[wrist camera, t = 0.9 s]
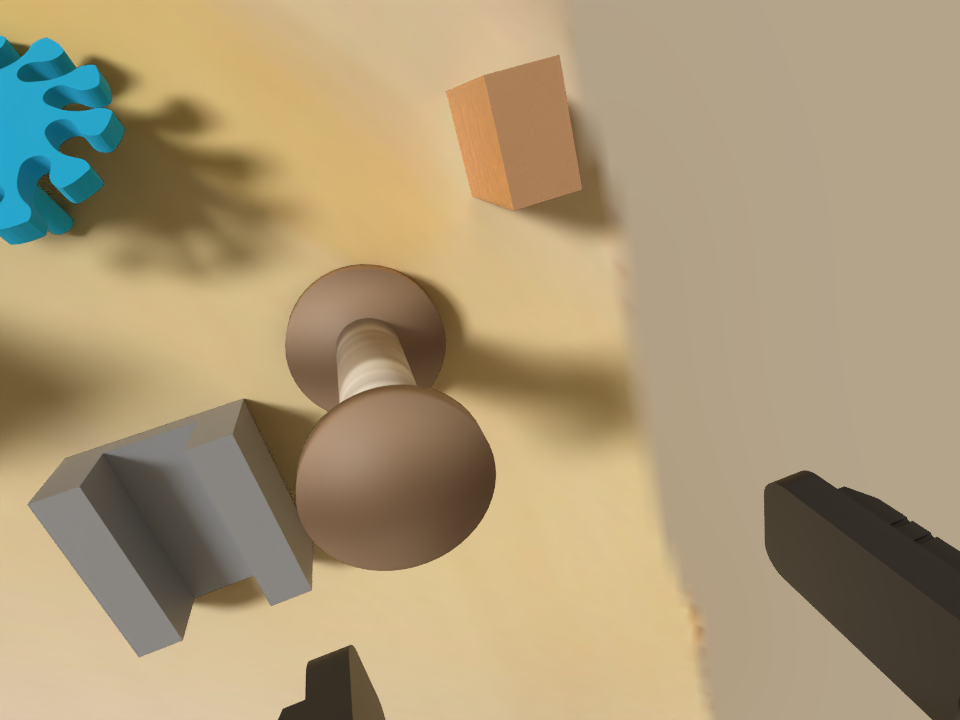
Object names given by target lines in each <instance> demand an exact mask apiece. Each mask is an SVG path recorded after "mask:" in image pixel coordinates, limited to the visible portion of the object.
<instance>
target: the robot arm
mask: <svg viewBox="0 0 960 720" xmlns="http://www.w3.org/2000/svg"><path fill="white" fill-rule="evenodd" d="M764 509H765V510H764V513H765V514H764V515H765V547H766V551H767V554H768V556H769V558H770V560H771V562H772V564H773V566H774V567H775V569H776V570H777V571H778V573H779V574H780V575H781V576H782V577H783V578H784V579H785V580H786V581H787V582H788V583H789V584H790V585H791V586H792V587H793V588H794V589H795V590H796V591H798V592H799V593H800V594H801V595H802V596H803V597H804V598H805V599H806V600H807V601H808V602H809V603H810V604H811V605H812V606H813V607H814V608H815V609H817V610H818V611H819V612H820V613H821V614H822V615H823V616H824V617H825V618H826V619H827V620H828V621H829V622H830V623H831V624H832V625H833V626H834V627H835V628H837V629H838V630H839V631H840V632H841V633H842V634H843V635H844V636H845V637H846V638H847V639H848V640H849V641H850V642H851V643H852V644H853V645H854V646H855V647H856V648H858V649H859V650H860V651H861V652H862V653H863V654H864V655H865V656H866V657H867V658H868V659H869V660H870V661H871V662H872V663H873V664H874V665H875V666H876V667H877V668H879V669H880V670H881V671H882V672H883V673H884V674H885V675H886V676H887V677H888V678H889V679H890V680H891V681H892V682H893V683H894V684H895V685H896V686H897V687H899V688H900V689H901V690H902V691H903V692H904V693H905V694H906V695H907V696H908V697H909V698H910V699H911V700H912V701H913V702H914V703H916V705H918V706H919V707H920V708H921V709H922V710H923V711H924V712H925V713H926V714H927V715H928V716H929V717H930V718H931V719H932V720H960V551H958V550H957V549H955V548H954V547H952V546H951V545H949V544H947V543H946V542H944V541H943V540H941V539H940V538H938V537H936V538H934V537H933V536H932V535H931V533H930V532H929V531H927V530H926V529H924V528H923V527H921V526H920V525H918V524H917V523H915V522H913V521H911V522H910V521H908V519H907V517H906V516H904V515H903V514H901V513H900V512H898V511H896V510H895V509H893V508H892V507H890V506H889V505H887V504H885V503H884V502H882V501H881V500H879V499H877V498H875V497H872V496H869V495H867V494H864V493H861V492H858V491H855V490H853V489H850V488H847V487H842V488H839V489H837V488H835V487H834V486H832V485H831V484H829V483H828V482H826V481H825V480H823V479H822V478H821V477H819V476H818V475H816V474H814V473H812V472H809V471H800V472H798V473H796V474H793V475H790V476H788V477H785V478H783V479H780V480H777V481H775V482H772V483H770V484H768V485H767V486H766V487H765V490H764ZM278 720H385V717H384V713H383V710H382V707H381V704H380V701H379V699H378V696H377V694H376V692H375V690H374V688H373V686H372V683H371V681H370V679H369V677H368V675H367V673H366V671H365V668H364V666H363V664H362V662H361V660H360V658H359V655H358V653H357V651H356V649H355V648H354V646H353V645H349V646H347V647H344V648H342V649H339V650H337V651H334V652H331V653H329V654H326V655H324V656H321V657H319V658H316V659H313V660H311V661H309V662H308V664H307V668H306V696H305V700H304V701H301V702H299V703H296V704H294V705H291V706H289V707H286V708H284V709H283V710H282V712H281V714H280V717H279V719H278Z"/></svg>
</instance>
